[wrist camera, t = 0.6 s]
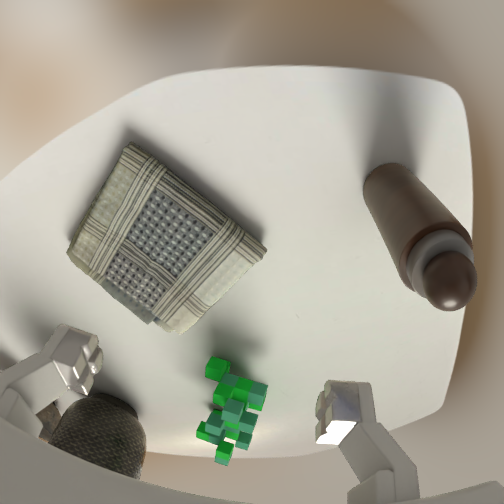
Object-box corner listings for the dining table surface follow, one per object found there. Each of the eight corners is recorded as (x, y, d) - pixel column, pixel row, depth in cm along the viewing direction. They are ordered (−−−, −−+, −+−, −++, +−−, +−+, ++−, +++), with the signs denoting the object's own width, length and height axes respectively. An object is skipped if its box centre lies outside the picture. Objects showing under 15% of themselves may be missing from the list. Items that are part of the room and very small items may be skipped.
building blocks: (180, 334, 46) (159, 395, 34) (263, 327, 45) (264, 392, 33) (209, 417, 53) (200, 474, 41) (276, 414, 53) (278, 472, 40)
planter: (93, 415, 65) (67, 477, 49) (62, 370, 54) (25, 442, 38) (164, 435, 63) (145, 505, 47) (146, 393, 53) (115, 482, 37)
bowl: (21, 396, 71) (9, 419, 63) (3, 361, 60) (-14, 388, 52) (76, 425, 73) (65, 452, 64) (65, 396, 62) (49, 428, 53)
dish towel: (132, 134, 28) (117, 142, 25) (270, 245, 33) (268, 263, 30) (69, 250, 36) (56, 264, 34) (176, 330, 41) (169, 347, 39)
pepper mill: (363, 163, 27) (427, 261, 14) (418, 163, 26) (511, 255, 13) (362, 217, 30) (407, 340, 17) (413, 216, 29) (483, 329, 16)
